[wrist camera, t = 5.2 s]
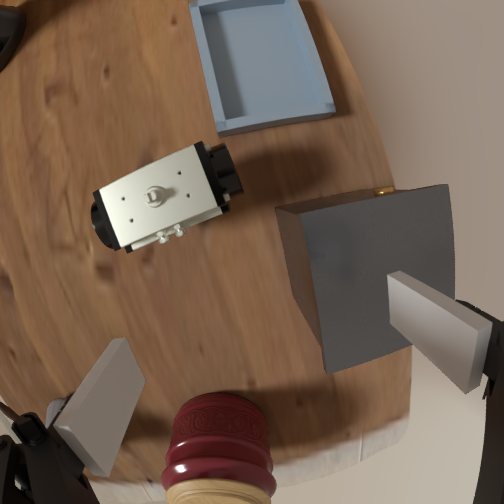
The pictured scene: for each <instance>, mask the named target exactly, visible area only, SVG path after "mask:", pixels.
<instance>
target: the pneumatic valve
mask: <svg viewBox="0 0 504 504" xmlns="http://www.w3.org/2000/svg"><path fill="white" fill-rule="evenodd" d="M243 194H244V191H243V188H242V185H241V182H240V180H239V177H238V174H237V172H236V169H235V166H234V164H233V161H232V159H231V156H230V154H229V151H228V149H227V147H226V145H225V143H221V144H219V145H216V146H214V147H211V148H210V145H209V144H206V145H204V143H203V142H202V141H200V142H198V143H195V144H193V145H191V146H188V147H186V148H183V149H181V150H179V151H176V152H174V153H172V154H170V155H167V156H165V157H163V158H161V159H158V160H156V161H154V162H152V163H150V164H148V165H146V166H143V167H141V168H139V169H137V170H135V171H133V172H131V173H129V174H127V175H125V176H123V177H121V178H119V179H117V180H115V181H113V182H112V183H110V184H108V185H106V186H104V187H102V188H100V189H98V190H97V191H95V192H93V195H94V198H95V202H94V203H93V204H92V207H91V219H92V223H93V226H94V229H95V231H96V233H97V235H98V237H99V238H100V240H101V241H102V242H103V243H104V245H106V246H107V247H109V248H111V249H114V250H115V251H117V250H119V249H121V248H123V247H125V249H126V252H127V253H130V252H132V251H134V250H137V249H139V248H141V247H144V246H146V245H148V244H151V243H153V242H155V241H159V243H160V244H162V243H164V242H167V241H169V240H170V239H169V235H172V234H174V233H175V235H176V237H179V236H181V235H184V234H186V228H189V227H191V226H194V225H196V224H198V223H201V222H203V221H206V220H208V219H211V218H213V217H216V216H218V215H221V214H224V213H226V212H229V211H230V210H231V208H230V205H229V200H231V199H233V198H236V197H238V196H241V195H243Z"/></svg>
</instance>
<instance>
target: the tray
mask: <svg viewBox="0 0 504 504" xmlns="http://www.w3.org/2000/svg"><path fill="white" fill-rule="evenodd" d="M189 8H190V12H191V17H192V22H193V26H194V31H195V35H196V40H197V44H198V49H199V53H200V58H201V62H202V67H203V71H204V76H205V80H206V84H207V89H208V93H209V98H210V102H211V107H212V111H213V115H214V120H215V124H216V129H217V133H218V136H219V138H221V137H225V136H229V135H234V134H238V133H243V132H248V131H253V130H258V129H263V128H268V127H274V126H279V125H285V124H291V123H298V122H304V121H311V120H319V119H327V118H329V117H330V116H332V115H333V114H334V113H335V112H336V109H335V105H334V102H333V98H332V95H331V91H330V88H329V85H328V82H327V78H326V75H325V72H324V69H323V66H322V63H321V60H320V57H319V54H318V51H317V49H316V46H315V43H314V40H313V38H312V35H311V32H310V30H309V27H308V24H307V22H306V19H305V17H304V14H303V12H302V9H301V7H300V5H299V2H298V0H199V1H194V2H190V3H189Z"/></svg>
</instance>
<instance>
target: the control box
mask: <svg viewBox="0 0 504 504" xmlns="http://www.w3.org/2000/svg"><path fill="white" fill-rule="evenodd" d="M275 212H276V216H277V221H278V225H279V230H280V235H281V239H282V244H283V249H284V254H285V259H286V264H287V268H288V273H289V278H290V283H291V289H292V294H293V297H294V299H295V301H296V303H297V304H298V306H299V308H300V310H301V312H302V314H303V315H304V317H305V319H306V321H307V323H308V325H309V326H310V328H311V330H312V332H313V334H314V336H315V337H316V339H317V341H318V343H319V345H320V347H321V351H322V358H323V365H324V369H325V371H326V373H327V374H330V373H334V372H337V371H340V370H343V369H347V368H350V367H353V366H356V365H359V364H362V363H365V362H368V361H371V360H373V359H376V358H379V357H382V356H385V355H387V354H390V353H393V352H395V351H398V350H400V349H403V348H405V347H408V346H410V345H413V344H412V343H411V342H410V341H409V340H408V339H407V338H405V337H404V336H403V335H402V334H401V333H400V332H399V331H398V330H397V329H396V328H394V327H393V326H392V325H391V324H390V311H389V293H388V279H387V274H391V273H394V272H397V271H402V272H403V273H405V274H407V275H409V276H411V277H413V278H415V279H417V280H418V281H420V282H422V283H424V284H426V285H428V286H430V287H431V288H433V289H435V290H437V291H439V292H440V293H442V294H444V295H446V296H448V297H449V298H451V299H453V300H454V299H455V256H454V255H455V253H454V234H453V221H452V211H451V202H450V194H449V187H448V184H439V185H434V186H428V187H423V188H417V189H412V190H394V188H393V186H389V187H381V188H376V189H373V190H358V191H352V192H347V193H342V194H337V195H332V196H327V197H322V198H317V199H313V200H308V201H303V202H298V203H294V204H289V205H284V206H280V207H275Z"/></svg>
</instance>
